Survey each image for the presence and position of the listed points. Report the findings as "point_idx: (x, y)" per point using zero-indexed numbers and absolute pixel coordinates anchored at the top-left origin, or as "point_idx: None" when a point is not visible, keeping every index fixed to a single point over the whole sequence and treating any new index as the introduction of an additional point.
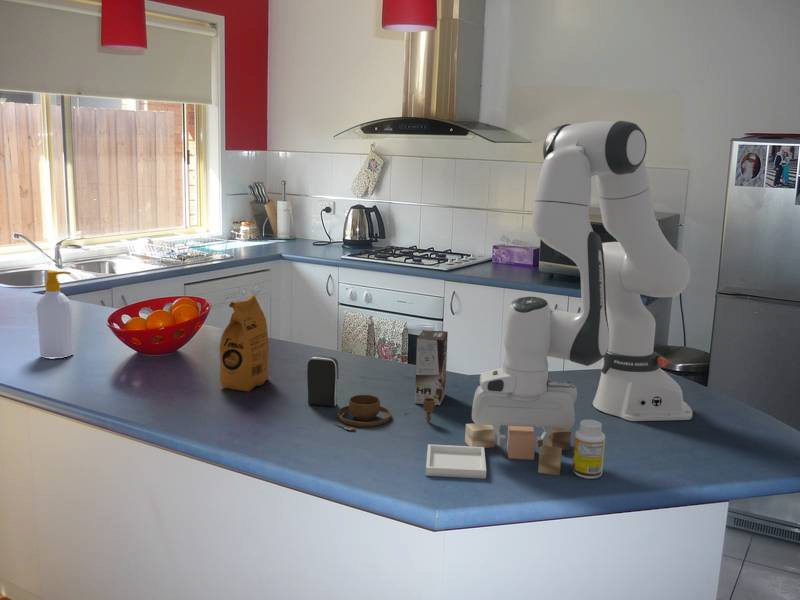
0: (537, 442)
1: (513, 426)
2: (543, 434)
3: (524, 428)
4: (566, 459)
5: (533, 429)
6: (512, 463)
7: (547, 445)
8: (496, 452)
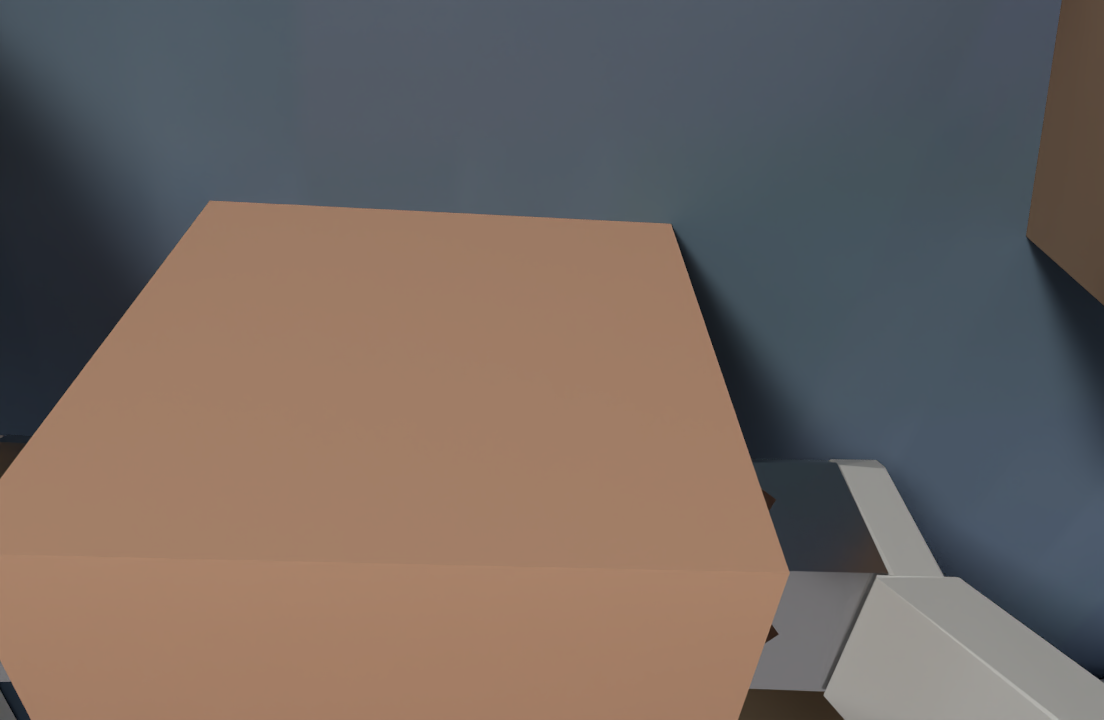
0: None
1: (140, 592)
2: (927, 689)
3: (491, 672)
4: (1070, 504)
5: (739, 699)
6: None
7: (1065, 33)
8: (53, 372)
